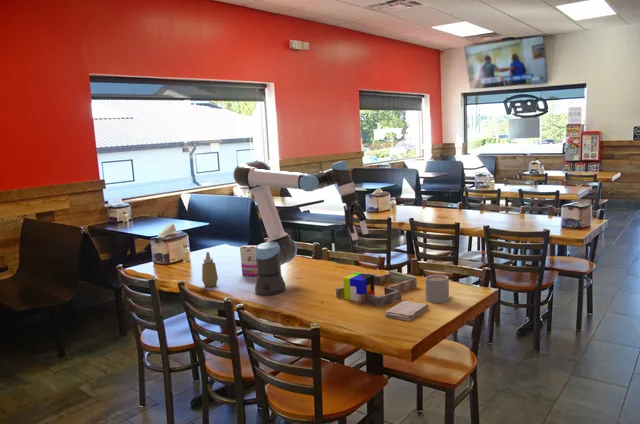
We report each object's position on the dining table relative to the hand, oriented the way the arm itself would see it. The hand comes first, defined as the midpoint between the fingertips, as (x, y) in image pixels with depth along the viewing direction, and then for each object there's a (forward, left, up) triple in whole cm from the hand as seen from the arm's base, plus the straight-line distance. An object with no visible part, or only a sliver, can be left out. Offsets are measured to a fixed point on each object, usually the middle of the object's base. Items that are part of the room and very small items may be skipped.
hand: (360, 236), depth 249 cm
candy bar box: (-22, +65, -26) cm, 74 cm away
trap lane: (+3, -7, -26) cm, 27 cm away
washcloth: (-8, -36, -27) cm, 45 cm away
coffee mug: (+15, -34, -26) cm, 45 cm away
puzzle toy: (-8, -7, -26) cm, 28 cm away
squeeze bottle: (-48, +64, -26) cm, 85 cm away
